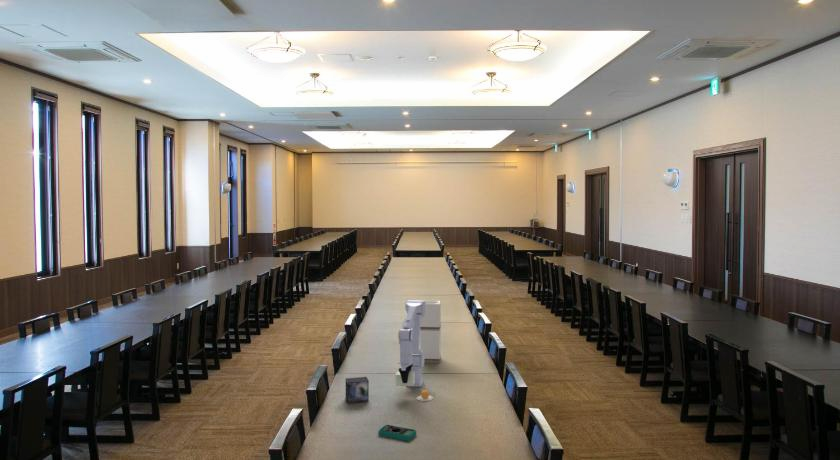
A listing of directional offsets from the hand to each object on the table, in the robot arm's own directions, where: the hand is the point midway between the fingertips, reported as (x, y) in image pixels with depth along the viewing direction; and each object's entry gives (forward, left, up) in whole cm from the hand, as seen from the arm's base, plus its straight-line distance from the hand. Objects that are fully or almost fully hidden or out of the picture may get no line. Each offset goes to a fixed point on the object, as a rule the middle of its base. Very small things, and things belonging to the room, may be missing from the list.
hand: (405, 380), depth 279 cm
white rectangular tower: (-66, +4, -9) cm, 67 cm away
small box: (+7, -23, -9) cm, 25 cm away
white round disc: (0, +9, -8) cm, 12 cm away
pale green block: (0, 0, -2) cm, 2 cm away
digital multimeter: (+44, +4, -9) cm, 45 cm away
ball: (0, +9, -6) cm, 11 cm away
